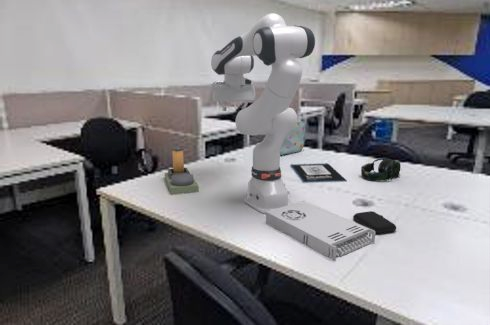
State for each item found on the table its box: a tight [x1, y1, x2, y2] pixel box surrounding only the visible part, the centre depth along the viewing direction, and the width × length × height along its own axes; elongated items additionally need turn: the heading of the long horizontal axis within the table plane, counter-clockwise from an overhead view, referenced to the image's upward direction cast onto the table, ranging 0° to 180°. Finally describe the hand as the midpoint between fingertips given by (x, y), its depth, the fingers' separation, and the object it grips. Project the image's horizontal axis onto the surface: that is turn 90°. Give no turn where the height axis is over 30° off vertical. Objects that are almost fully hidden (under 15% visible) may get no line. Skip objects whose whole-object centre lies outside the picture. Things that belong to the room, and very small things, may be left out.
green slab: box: [164, 167, 199, 196], centre depth 177 cm, size 24×12×6 cm, turn 18°
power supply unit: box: [265, 200, 376, 262], centre depth 130 cm, size 19×33×5 cm, turn 36°
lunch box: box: [280, 119, 307, 156], centre depth 236 cm, size 27×10×21 cm, turn 130°
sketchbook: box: [290, 162, 348, 184], centre depth 197 cm, size 22×30×2 cm
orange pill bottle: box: [171, 145, 185, 173], centre depth 180 cm, size 5×5×14 cm
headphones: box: [360, 157, 401, 182], centre depth 189 cm, size 13×13×20 cm
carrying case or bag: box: [352, 210, 397, 235], centre depth 136 cm, size 11×3×15 cm
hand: (234, 110), depth 179 cm, fingers open, 8 cm apart
